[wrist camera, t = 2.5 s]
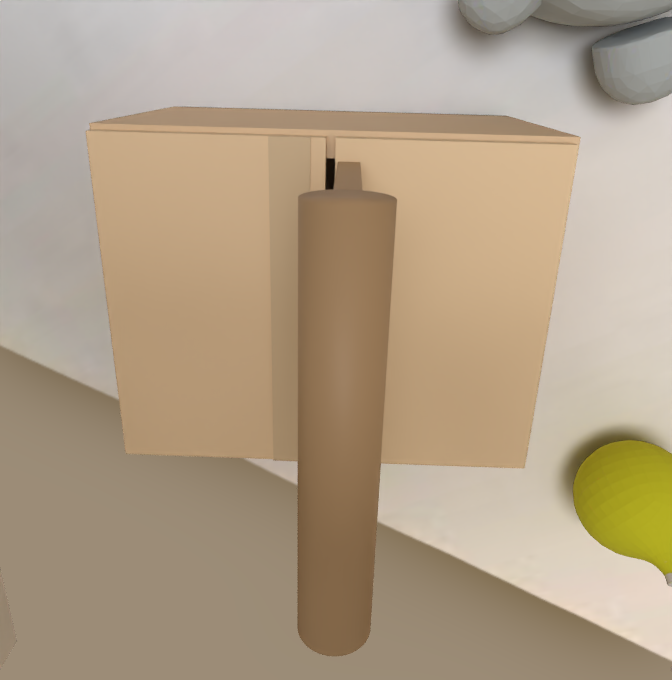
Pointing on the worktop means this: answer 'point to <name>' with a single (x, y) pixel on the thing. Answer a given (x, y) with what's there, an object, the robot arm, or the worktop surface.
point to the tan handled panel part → (414, 337)
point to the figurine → (609, 53)
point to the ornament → (628, 501)
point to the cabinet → (224, 261)
